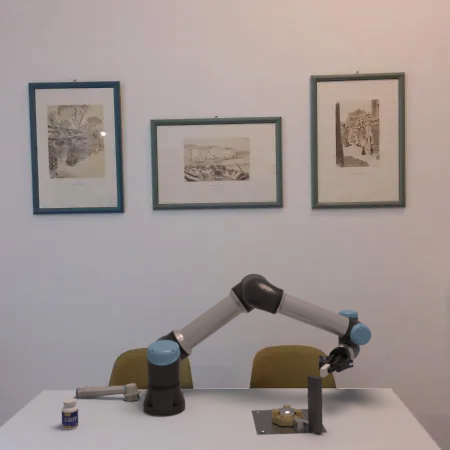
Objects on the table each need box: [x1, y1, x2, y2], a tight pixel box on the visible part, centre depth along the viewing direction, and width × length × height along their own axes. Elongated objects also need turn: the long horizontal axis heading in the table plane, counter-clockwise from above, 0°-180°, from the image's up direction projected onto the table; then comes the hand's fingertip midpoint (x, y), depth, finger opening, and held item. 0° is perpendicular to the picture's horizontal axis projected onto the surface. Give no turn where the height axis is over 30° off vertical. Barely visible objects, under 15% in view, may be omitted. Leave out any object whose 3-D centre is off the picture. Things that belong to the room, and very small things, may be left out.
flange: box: [251, 407, 328, 436], centre depth 165 cm, size 22×22×4 cm
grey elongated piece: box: [75, 382, 141, 403], centre depth 193 cm, size 5×7×25 cm
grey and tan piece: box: [271, 374, 323, 435], centre depth 162 cm, size 19×10×17 cm, turn 40°
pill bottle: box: [61, 397, 79, 431], centre depth 166 cm, size 5×5×9 cm
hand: (322, 373), depth 168 cm, fingers closed
